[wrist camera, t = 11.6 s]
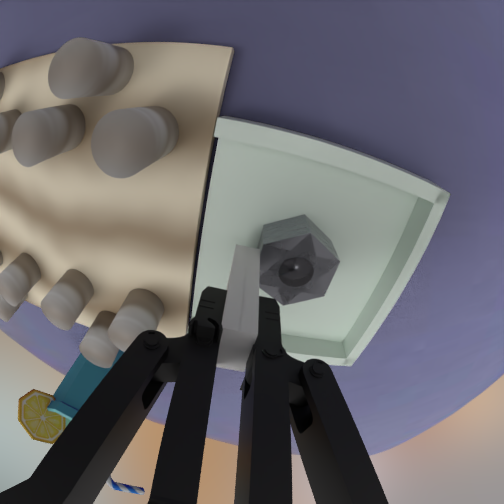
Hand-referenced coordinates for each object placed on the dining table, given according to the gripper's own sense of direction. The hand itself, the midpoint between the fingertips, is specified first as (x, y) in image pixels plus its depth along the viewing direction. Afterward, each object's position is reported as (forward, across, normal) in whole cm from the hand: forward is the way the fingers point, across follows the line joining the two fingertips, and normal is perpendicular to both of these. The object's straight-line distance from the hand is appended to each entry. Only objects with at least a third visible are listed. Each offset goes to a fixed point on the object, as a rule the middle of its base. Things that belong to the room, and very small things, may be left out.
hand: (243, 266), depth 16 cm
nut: (+2, +3, +1) cm, 4 cm away
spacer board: (+2, -16, 0) cm, 16 cm away
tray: (+2, +4, 0) cm, 5 cm away
